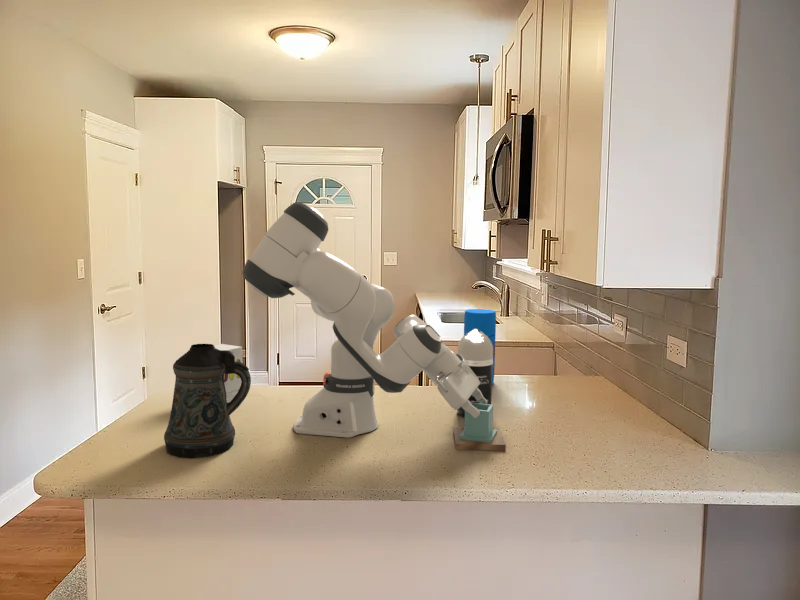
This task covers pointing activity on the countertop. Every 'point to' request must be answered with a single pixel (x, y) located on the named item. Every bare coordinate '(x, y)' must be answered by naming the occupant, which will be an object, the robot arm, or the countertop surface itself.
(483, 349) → the black white cylinder
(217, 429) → the beer stein
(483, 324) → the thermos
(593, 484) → the countertop surface
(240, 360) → the supplement box
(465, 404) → the robot arm
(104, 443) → the countertop surface
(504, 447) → the walnut post base
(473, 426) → the flanged sleeve
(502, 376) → the countertop surface
